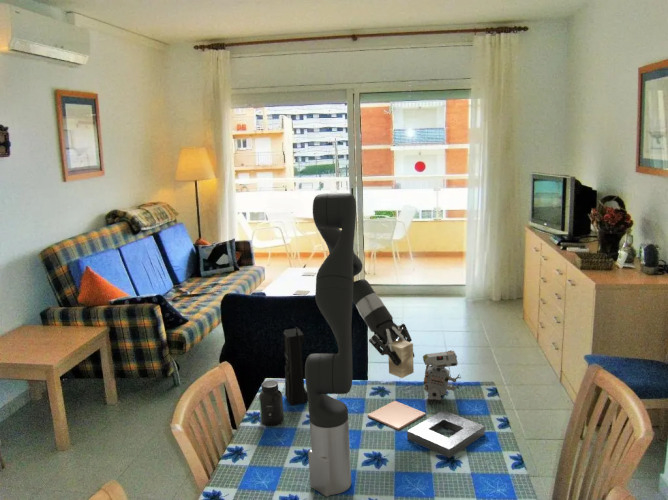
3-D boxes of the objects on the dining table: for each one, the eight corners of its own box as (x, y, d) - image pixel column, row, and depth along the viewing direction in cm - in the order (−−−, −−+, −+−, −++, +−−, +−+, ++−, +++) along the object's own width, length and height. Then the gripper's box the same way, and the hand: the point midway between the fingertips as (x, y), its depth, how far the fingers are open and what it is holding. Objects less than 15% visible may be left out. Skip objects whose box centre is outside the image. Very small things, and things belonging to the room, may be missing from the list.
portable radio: (284, 395, 193) (278, 322, 188) (302, 392, 195) (297, 319, 190) (289, 406, 186) (284, 330, 181) (308, 402, 188) (303, 327, 183)
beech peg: (402, 378, 169) (401, 348, 167) (389, 373, 173) (388, 343, 171) (413, 372, 172) (413, 343, 170) (400, 367, 176) (399, 339, 174)
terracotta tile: (398, 430, 168) (398, 428, 168) (367, 416, 177) (367, 414, 177) (425, 414, 176) (425, 412, 176) (394, 402, 185) (394, 400, 185)
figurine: (460, 405, 181) (460, 359, 178) (422, 403, 183) (421, 357, 180) (460, 392, 190) (460, 348, 186) (424, 390, 192) (423, 346, 189)
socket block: (449, 458, 153) (449, 449, 153) (407, 439, 164) (407, 430, 163) (484, 434, 164) (484, 426, 163) (443, 417, 174) (443, 409, 174)
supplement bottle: (257, 426, 175) (254, 388, 172) (265, 415, 181) (262, 378, 179) (279, 428, 173) (276, 389, 170) (286, 416, 179) (284, 379, 177)
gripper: (362, 311, 169) (395, 362, 163) (396, 299, 178) (429, 347, 172) (350, 325, 174) (382, 375, 168) (384, 312, 183) (415, 359, 177)
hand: (405, 360), depth 170 cm, fingers closed on beech peg, 5 cm apart
